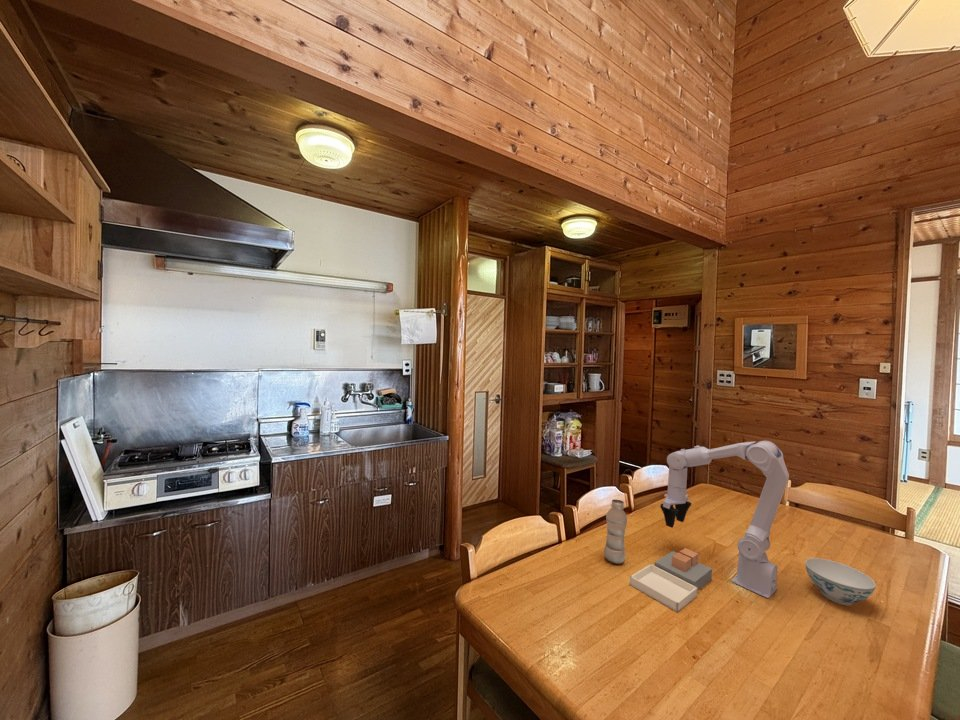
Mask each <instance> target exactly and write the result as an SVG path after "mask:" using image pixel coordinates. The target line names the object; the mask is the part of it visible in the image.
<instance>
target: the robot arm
mask: <svg viewBox="0 0 960 720" xmlns="http://www.w3.org/2000/svg"><path fill="white" fill-rule="evenodd" d="M693 447H694V448H689V449H686V448H681V449H680V450H676V451H674V452H672V453H669V454H668V455H667V456H666V463H667V465H668V480H667V493H665V494H663V497H664V498H665V500H663V502H662V503H661V504H660V509H661V511H662V513H663V516H664V517H663V518H664V521H665V525H666V526H667V527H669V528H674V525H675V521H678V522H680V523H684V521H685V520H686V519H685V518H686V515H687V513H688V511H689V509H690V508H691V506H692V502H690V501H689V496H690V495H689V494H687V481H688V467H689V468H692V467H698V466H699V467H700V466H704V465H710V464H711V462H712V460H716V459H723V458H731V457H738V458H740V459H742V460H748V461H749V462H750V463H751V464H752V465H754V466H755V467H756V468H758V469H759V470H760V471H761V472H762V474H763V475H764V476H765V477H766V480H765V482H764V485H763V488H762V491H761V493H760V496H759V499H758V501H757V504H756V507H755V510H754V512H753V514H752V515H753V516H752V518H751V521H750V524H749V526H748V528H747V530H746V531H745V534H744V535H743V537H742V538H740V539H739V540H738V542H737V550H738V559H737V573H736V575H735V577H733V578H732V579H731V582H732V583H734V584H736V585H738V586H739V587H743V588H745V589H746V590H749V591H750V592H753V593H755V594H757V595H760V596H762V597H764V598H765V599H770V597H771V596H772V595H774V593H775V592H776V591H777V589H778V587H777V580H778V566H777V565H776V564H775V563H773V562H771V561H770V560H769V558H768V555H767V553H766V552H767V551H768V550H769V549H770V547H771V541H770V536H771V535H770V534H771V528H772V527H773V526H772V525H773V523H774V520H775V517H776V515H777V512H778V510H779V507H780V504H781V501H782V498H783V496H784V493H785V490H786V487H787V485H788V482H789V479H790V473H789V471H788V468H787V465H786V464H785V460H784V455H783V454H784V453H783V452H782V450H781V449H780V448H779V447H778V446H777V445H776V444H775V443H774V442H772V441H769V440H760V441H758V442H756V441H745V442H738V443H734V444H733V443H732V444H729V445H723V446H720V447H715V448H710V449H709V448H707V447H705V446H700V445H696V446H695V445H694V446H693Z"/></svg>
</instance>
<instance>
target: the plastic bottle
mask: <svg viewBox="0 0 960 720" xmlns="http://www.w3.org/2000/svg"><path fill="white" fill-rule="evenodd" d="M610 505H611V508H610V509H608V510H607V512H606V514H605V515H606V516H605V517H606V540H605V541H606V542H605V545H604V550H603V553H604V557H605V559H606V560H607V562H610V563H613V564H617V565H618V564H623V562H625V560H626V549H625V538H626V537H625V536H626V535H625V534H626V529H627V528H626V527H627V524H628V517H627V514H626V512H625V511H624V508H625V507H624V505H625V503H624V501H623V500H622V499H612V500H611V504H610Z"/></svg>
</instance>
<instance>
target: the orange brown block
mask: <svg viewBox="0 0 960 720" xmlns="http://www.w3.org/2000/svg"><path fill="white" fill-rule="evenodd" d="M679 553H680V554H683V555H685V556H687V557H689V558H691V567H693V566H694V565H696V564H697V563H698V562H699V553H698V552H696V551H693V550H691V549H689V548H687V547H685V548H683V549H682V550H679Z"/></svg>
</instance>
